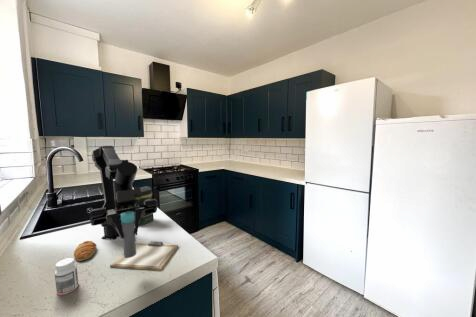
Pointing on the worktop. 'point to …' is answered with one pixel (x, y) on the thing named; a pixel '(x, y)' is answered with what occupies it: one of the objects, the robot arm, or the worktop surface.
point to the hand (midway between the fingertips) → (129, 236)
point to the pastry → (85, 250)
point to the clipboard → (147, 256)
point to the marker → (128, 234)
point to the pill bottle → (66, 276)
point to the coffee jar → (145, 195)
